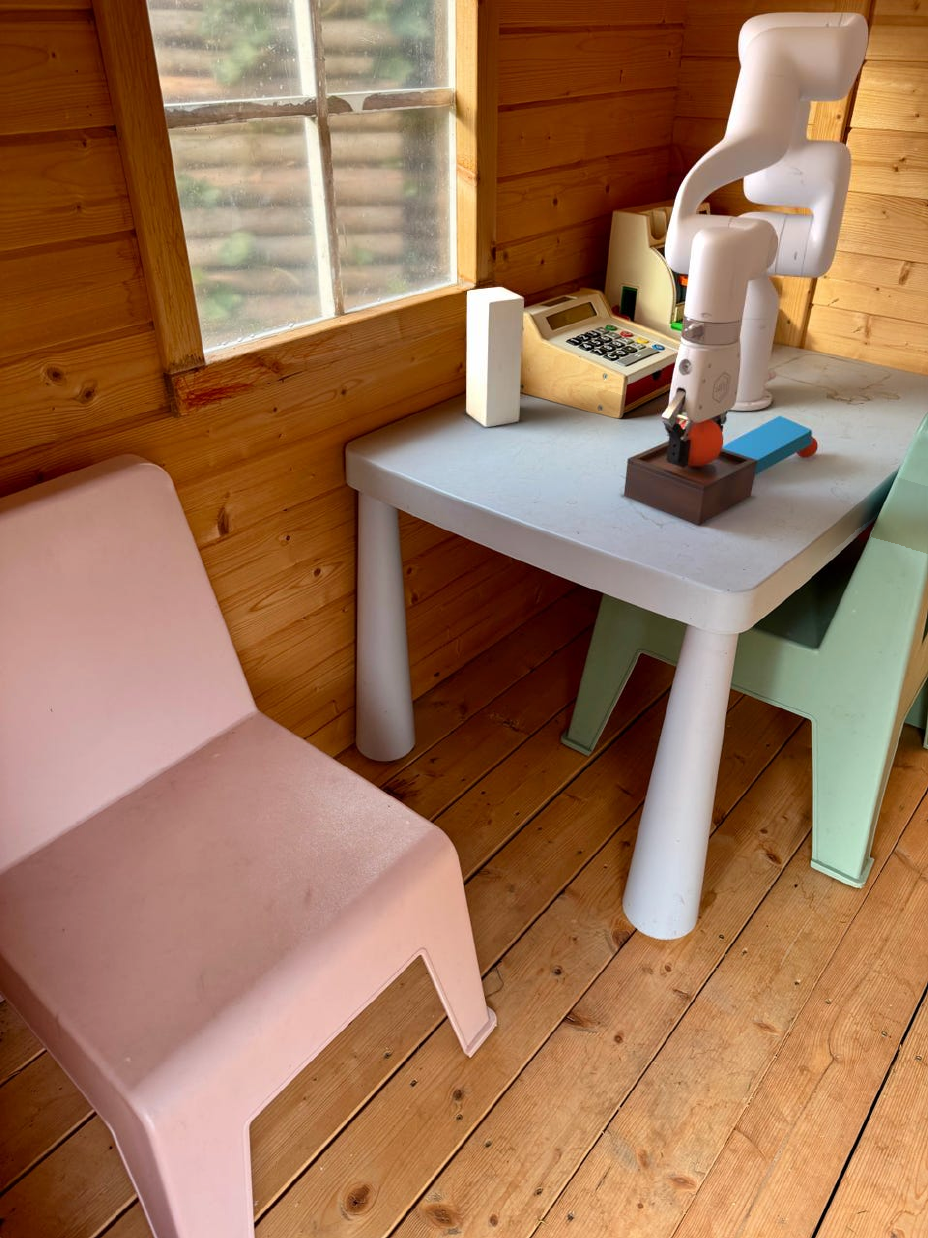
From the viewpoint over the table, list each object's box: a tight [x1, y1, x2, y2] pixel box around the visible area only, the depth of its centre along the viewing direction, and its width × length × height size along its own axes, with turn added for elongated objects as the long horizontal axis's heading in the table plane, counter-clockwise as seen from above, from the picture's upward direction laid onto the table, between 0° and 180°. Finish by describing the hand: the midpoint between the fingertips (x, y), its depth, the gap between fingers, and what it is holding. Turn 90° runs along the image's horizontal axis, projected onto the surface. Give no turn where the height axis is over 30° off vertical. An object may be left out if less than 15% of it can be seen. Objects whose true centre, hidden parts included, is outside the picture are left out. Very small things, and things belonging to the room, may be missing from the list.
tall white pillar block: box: [465, 286, 525, 428], centre depth 153 cm, size 8×7×21 cm
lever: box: [722, 415, 819, 476], centre depth 140 cm, size 7×7×18 cm
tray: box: [623, 440, 758, 526], centre depth 131 cm, size 13×13×6 cm
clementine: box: [679, 419, 724, 466], centre depth 127 cm, size 8×7×7 cm
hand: (693, 455), depth 129 cm, fingers closed on clementine, 7 cm apart
